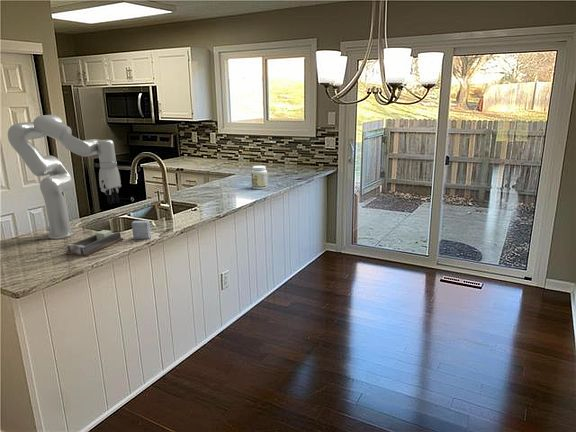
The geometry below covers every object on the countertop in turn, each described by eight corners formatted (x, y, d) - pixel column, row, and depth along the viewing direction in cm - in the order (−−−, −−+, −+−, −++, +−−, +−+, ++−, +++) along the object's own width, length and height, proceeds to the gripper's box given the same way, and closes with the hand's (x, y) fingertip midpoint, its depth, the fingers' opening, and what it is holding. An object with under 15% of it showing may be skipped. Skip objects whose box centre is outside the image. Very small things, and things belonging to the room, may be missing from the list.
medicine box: (151, 236, 217) (149, 220, 214) (148, 239, 213) (147, 222, 210) (136, 236, 217) (134, 220, 214) (133, 239, 212) (131, 223, 210)
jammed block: (96, 241, 206) (95, 232, 205) (104, 238, 211) (103, 229, 210) (105, 242, 205) (104, 233, 203) (112, 239, 209) (111, 230, 208)
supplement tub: (248, 188, 328) (247, 166, 324) (260, 185, 336) (260, 164, 332) (258, 190, 320) (257, 168, 315) (270, 188, 328) (270, 166, 323)
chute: (66, 253, 194) (64, 244, 193) (104, 237, 216) (103, 229, 214) (86, 256, 190) (84, 247, 189) (123, 240, 212) (122, 231, 210)
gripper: (114, 162, 215) (118, 197, 220) (89, 167, 200) (95, 204, 205) (126, 163, 212) (130, 198, 217) (102, 168, 197) (107, 205, 202)
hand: (113, 201), depth 211 cm, fingers open, 3 cm apart
